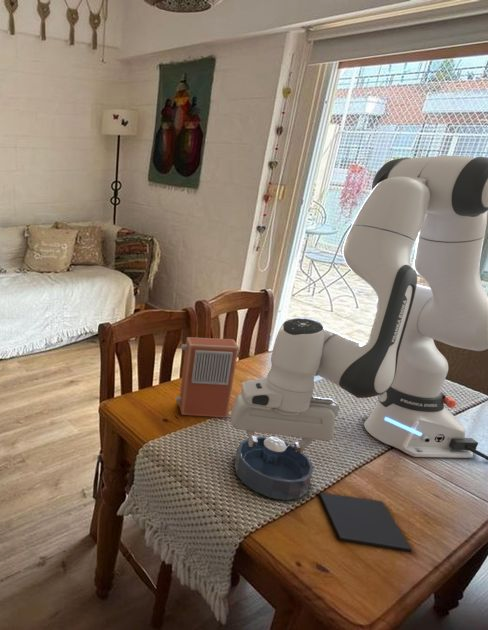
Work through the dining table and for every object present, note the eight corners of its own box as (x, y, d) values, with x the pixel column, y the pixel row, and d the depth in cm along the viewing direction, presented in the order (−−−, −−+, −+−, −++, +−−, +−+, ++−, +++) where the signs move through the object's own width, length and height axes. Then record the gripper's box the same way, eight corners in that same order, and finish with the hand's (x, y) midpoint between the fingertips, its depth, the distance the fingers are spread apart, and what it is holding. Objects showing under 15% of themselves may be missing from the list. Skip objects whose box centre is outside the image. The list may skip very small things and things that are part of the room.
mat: (381, 503, 92) (381, 501, 92) (410, 551, 81) (411, 549, 81) (319, 494, 94) (319, 492, 94) (339, 540, 83) (340, 537, 83)
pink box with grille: (174, 403, 128) (226, 406, 126) (177, 416, 121) (232, 420, 120) (181, 335, 120) (237, 338, 119) (185, 345, 114) (244, 349, 112)
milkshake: (282, 485, 96) (290, 447, 93) (256, 476, 99) (263, 439, 95) (284, 473, 100) (293, 436, 96) (259, 464, 102) (267, 428, 99)
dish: (297, 459, 105) (301, 441, 103) (317, 506, 91) (322, 486, 89) (230, 450, 108) (233, 433, 106) (240, 494, 94) (244, 475, 92)
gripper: (335, 392, 93) (321, 447, 98) (234, 381, 97) (225, 433, 101) (347, 408, 87) (331, 465, 92) (239, 395, 91) (229, 450, 95)
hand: (274, 448), depth 97 cm, fingers open, 8 cm apart
